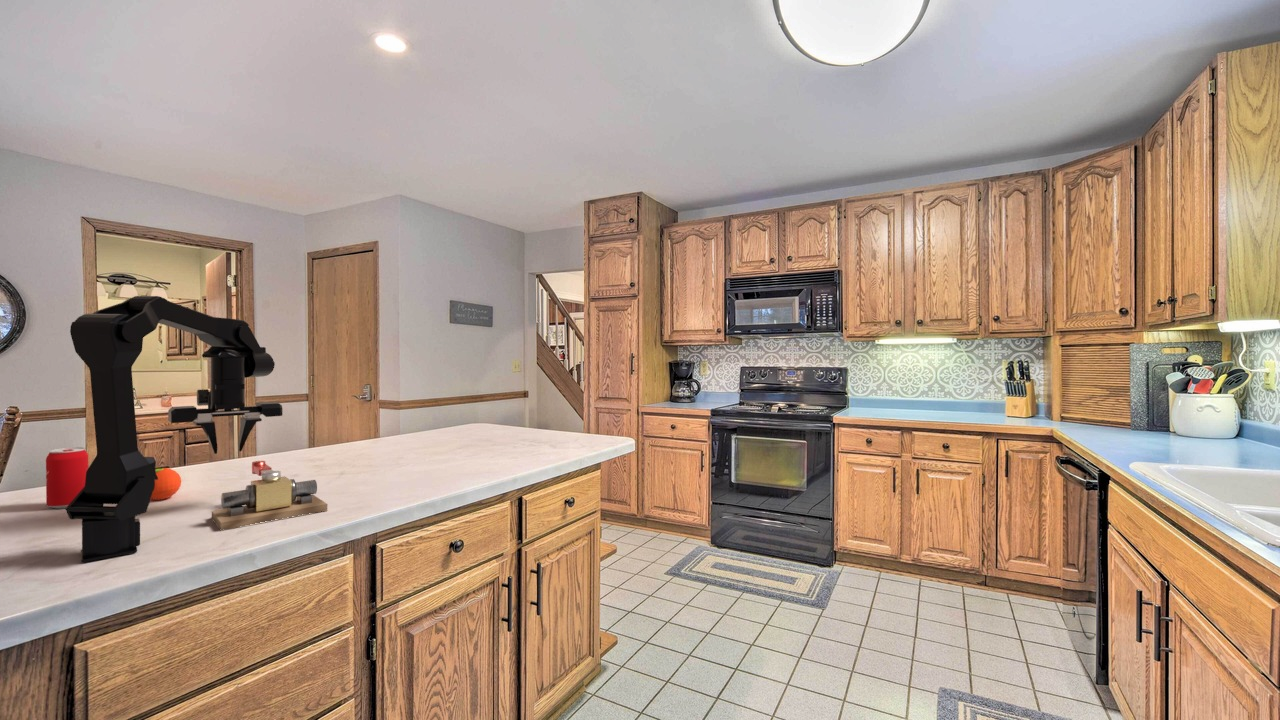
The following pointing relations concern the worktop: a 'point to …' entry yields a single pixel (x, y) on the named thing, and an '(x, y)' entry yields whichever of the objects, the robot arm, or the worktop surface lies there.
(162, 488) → the clementine
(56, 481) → the beverage can
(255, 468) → the valve lever
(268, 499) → the valve
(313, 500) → the mounting board
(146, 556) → the worktop surface
